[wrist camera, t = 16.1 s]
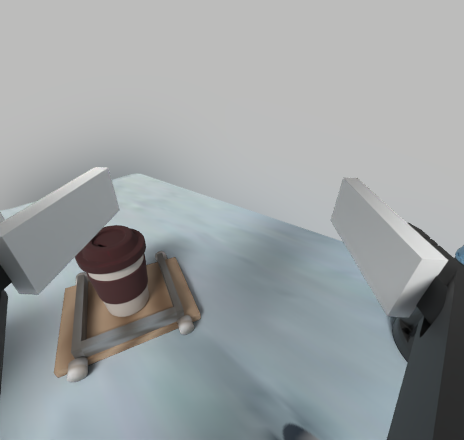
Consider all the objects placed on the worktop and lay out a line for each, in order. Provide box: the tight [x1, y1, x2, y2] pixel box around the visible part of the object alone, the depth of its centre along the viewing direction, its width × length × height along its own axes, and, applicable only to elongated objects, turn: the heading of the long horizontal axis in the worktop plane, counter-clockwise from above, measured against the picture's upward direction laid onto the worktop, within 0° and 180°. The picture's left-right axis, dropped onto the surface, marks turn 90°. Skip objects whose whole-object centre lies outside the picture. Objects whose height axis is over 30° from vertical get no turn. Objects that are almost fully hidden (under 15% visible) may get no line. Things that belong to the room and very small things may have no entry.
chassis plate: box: [54, 251, 201, 382], centre depth 43 cm, size 22×21×4 cm
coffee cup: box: [75, 225, 149, 317], centre depth 39 cm, size 10×10×15 cm
